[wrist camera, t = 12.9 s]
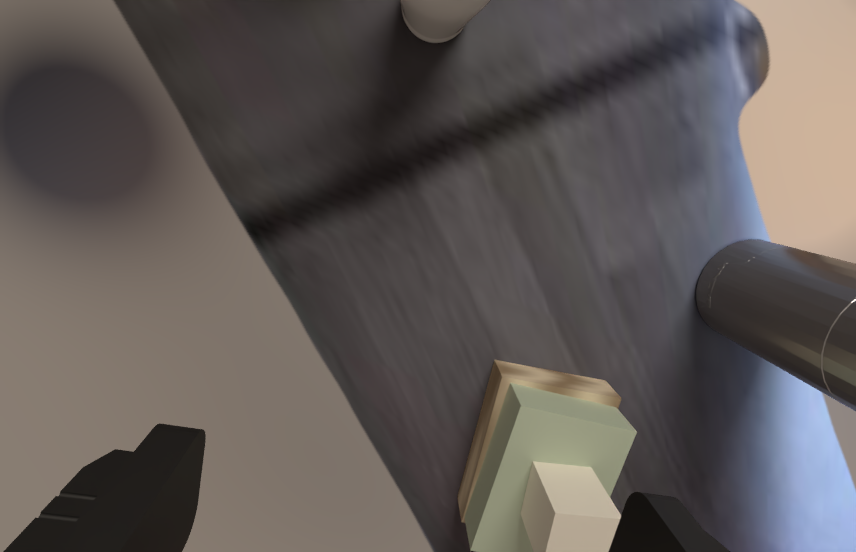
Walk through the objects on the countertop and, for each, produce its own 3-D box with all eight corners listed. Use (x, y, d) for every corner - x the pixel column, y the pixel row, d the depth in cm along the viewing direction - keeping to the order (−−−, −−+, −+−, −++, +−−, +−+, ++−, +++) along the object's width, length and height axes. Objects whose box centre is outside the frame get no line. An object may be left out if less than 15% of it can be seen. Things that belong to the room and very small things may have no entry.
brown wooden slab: (603, 378, 48) (621, 398, 44) (560, 509, 52) (573, 539, 48) (493, 357, 47) (502, 376, 43) (456, 493, 50) (461, 522, 47)
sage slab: (616, 407, 44) (636, 431, 41) (564, 536, 48) (579, 571, 44) (510, 382, 43) (521, 405, 39) (464, 517, 46) (470, 550, 43)
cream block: (591, 467, 41) (623, 519, 35) (577, 518, 42) (606, 577, 37) (532, 461, 41) (555, 513, 35) (520, 513, 42) (540, 572, 36)
